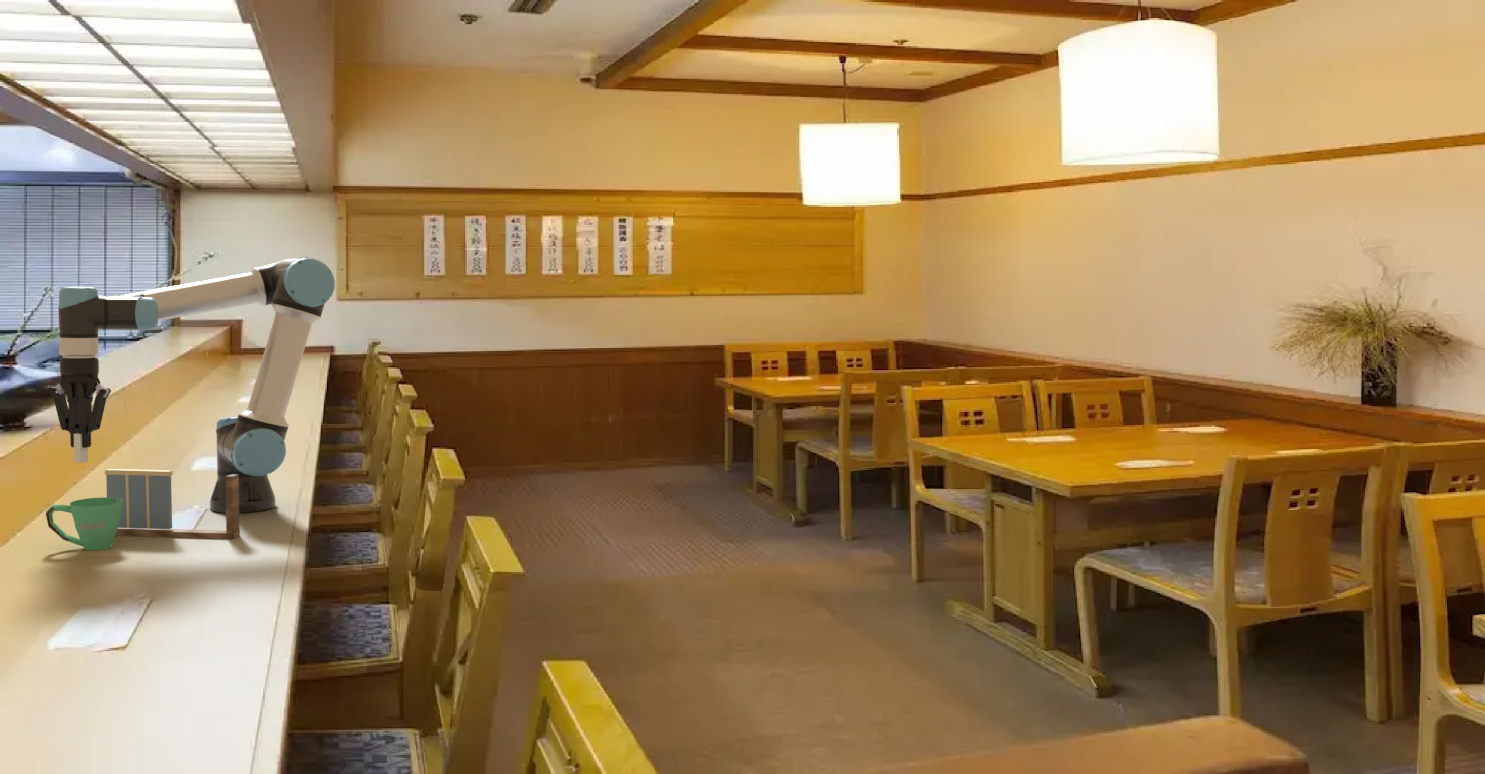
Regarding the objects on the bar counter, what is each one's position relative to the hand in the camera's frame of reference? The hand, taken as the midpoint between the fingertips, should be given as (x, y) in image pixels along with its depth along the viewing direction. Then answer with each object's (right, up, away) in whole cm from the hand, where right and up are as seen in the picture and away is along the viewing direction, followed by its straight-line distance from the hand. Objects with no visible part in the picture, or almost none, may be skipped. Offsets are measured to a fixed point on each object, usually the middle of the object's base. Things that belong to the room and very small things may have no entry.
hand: (81, 461), depth 259 cm
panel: (+13, -15, 0) cm, 20 cm away
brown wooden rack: (+19, -17, 0) cm, 25 cm away
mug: (+8, -18, -13) cm, 24 cm away
